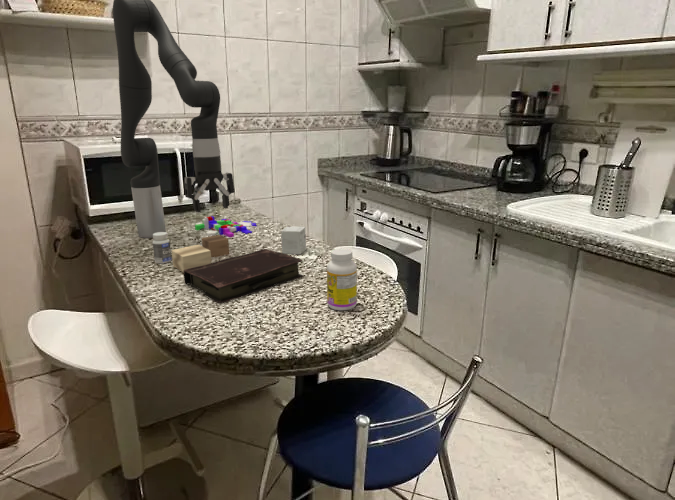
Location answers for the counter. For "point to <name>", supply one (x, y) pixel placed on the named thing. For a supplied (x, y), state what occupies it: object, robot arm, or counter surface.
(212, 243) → the walnut block
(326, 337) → the counter surface
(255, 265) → the diary
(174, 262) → the maple block
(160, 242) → the pill bottle
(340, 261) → the supplement bottle
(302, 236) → the skincare box
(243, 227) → the building block set
